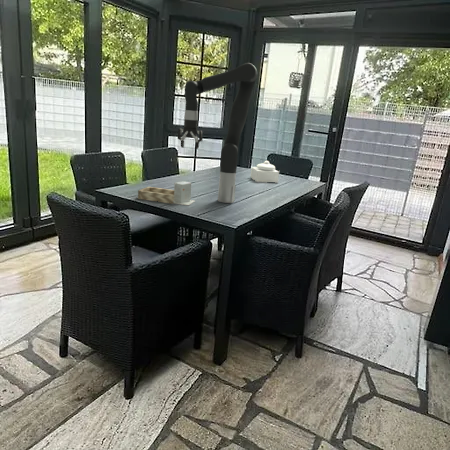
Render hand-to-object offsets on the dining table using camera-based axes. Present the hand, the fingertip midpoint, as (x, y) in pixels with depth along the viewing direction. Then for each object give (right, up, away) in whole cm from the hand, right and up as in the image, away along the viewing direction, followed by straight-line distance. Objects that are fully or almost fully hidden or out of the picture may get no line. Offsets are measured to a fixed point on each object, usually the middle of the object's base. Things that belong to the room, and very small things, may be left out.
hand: (189, 148), depth 211 cm
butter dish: (+51, -9, +80) cm, 96 cm away
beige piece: (-16, -29, -4) cm, 34 cm away
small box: (-3, -31, -7) cm, 32 cm away
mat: (-2, -32, -7) cm, 33 cm away
